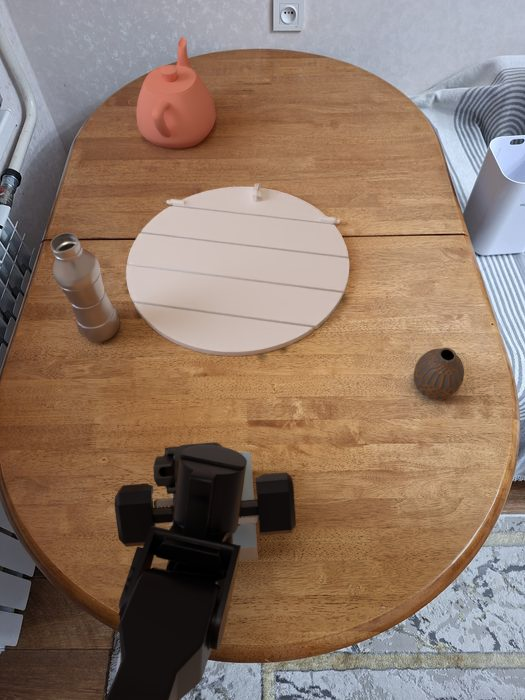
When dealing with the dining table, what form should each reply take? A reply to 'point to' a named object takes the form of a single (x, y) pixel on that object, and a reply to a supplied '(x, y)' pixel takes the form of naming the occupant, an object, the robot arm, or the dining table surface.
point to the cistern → (247, 532)
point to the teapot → (175, 105)
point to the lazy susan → (237, 270)
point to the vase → (439, 373)
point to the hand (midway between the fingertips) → (211, 476)
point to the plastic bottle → (84, 288)
